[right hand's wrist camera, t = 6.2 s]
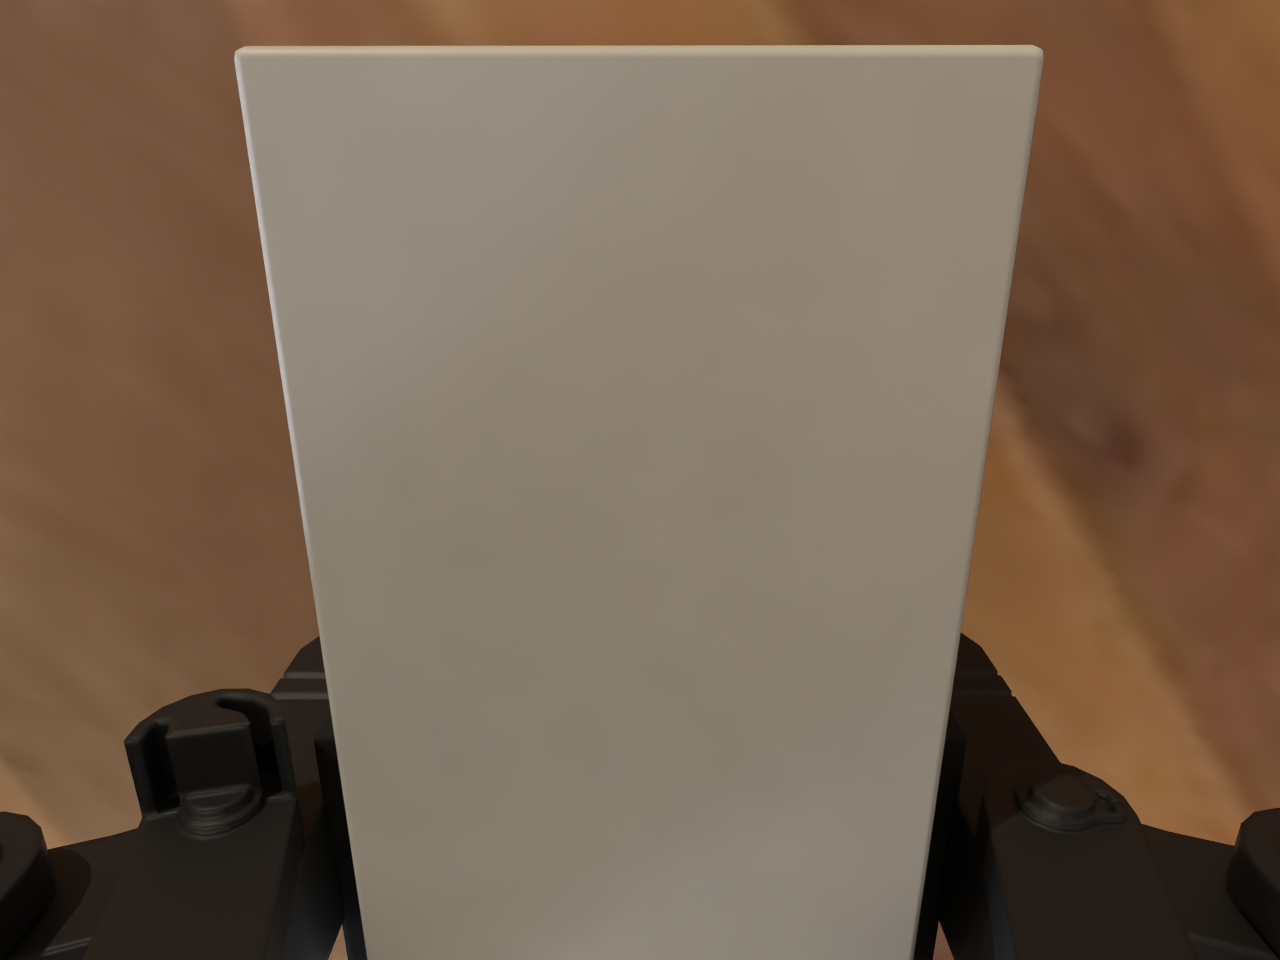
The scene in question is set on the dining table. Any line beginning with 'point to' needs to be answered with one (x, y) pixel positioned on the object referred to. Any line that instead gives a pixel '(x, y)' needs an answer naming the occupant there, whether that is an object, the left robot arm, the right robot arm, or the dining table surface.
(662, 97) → the bar
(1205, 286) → the dining table surface
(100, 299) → the dining table surface
